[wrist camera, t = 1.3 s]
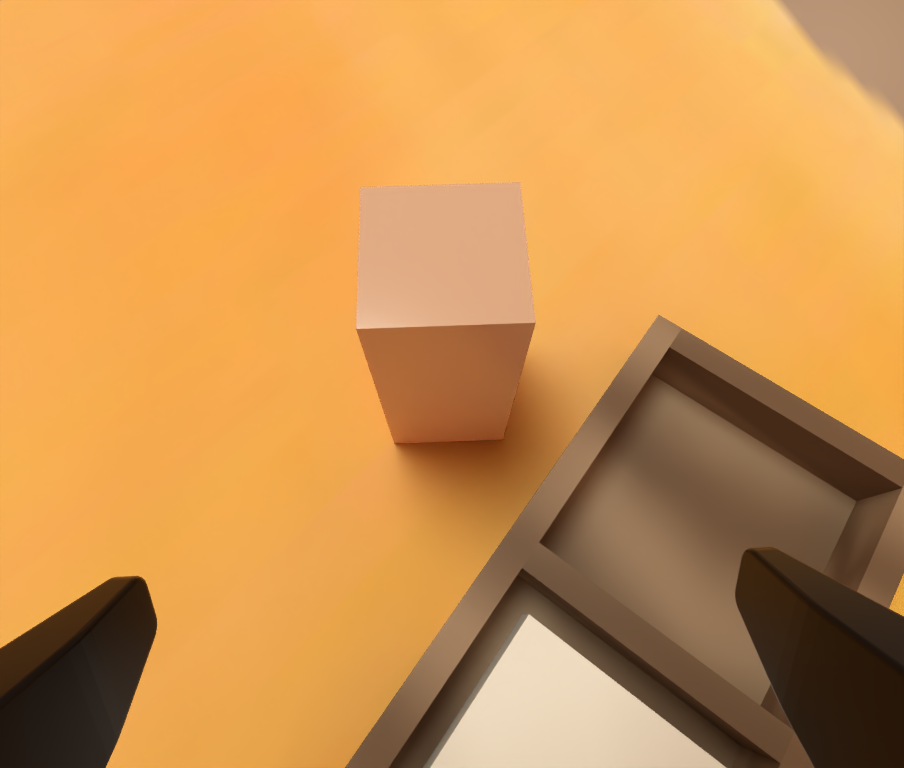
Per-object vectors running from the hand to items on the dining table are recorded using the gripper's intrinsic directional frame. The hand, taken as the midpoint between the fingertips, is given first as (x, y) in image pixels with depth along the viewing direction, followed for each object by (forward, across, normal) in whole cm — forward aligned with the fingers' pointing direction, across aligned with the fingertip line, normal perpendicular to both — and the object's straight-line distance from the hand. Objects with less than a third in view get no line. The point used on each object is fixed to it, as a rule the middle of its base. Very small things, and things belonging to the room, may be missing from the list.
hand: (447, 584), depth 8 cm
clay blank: (+16, 0, +3) cm, 16 cm away
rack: (+8, -6, +10) cm, 15 cm away
